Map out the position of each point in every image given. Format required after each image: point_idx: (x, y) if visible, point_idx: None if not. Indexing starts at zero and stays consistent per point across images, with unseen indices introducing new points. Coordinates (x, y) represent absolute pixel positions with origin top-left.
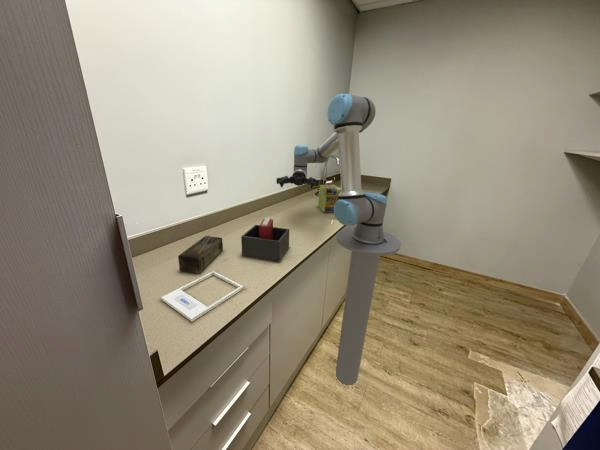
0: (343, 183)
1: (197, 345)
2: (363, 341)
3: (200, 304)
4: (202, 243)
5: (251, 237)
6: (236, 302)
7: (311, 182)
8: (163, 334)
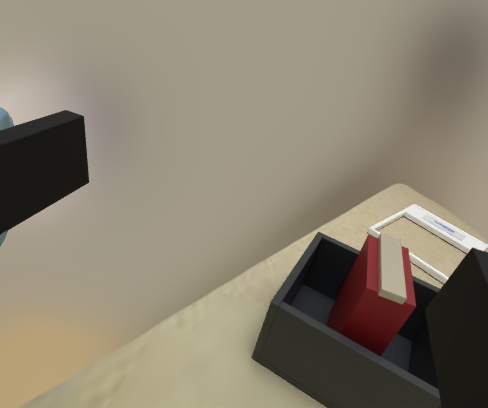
0: None
1: (388, 187)
2: None
3: (418, 217)
4: None
5: (414, 277)
6: (368, 215)
7: (63, 120)
8: (432, 206)
